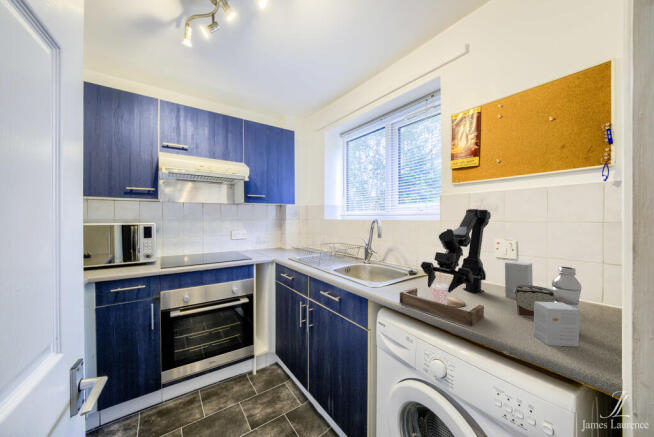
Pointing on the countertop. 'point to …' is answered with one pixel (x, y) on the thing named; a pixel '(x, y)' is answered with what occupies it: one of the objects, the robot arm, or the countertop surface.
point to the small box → (556, 323)
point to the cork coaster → (455, 302)
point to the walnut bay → (442, 308)
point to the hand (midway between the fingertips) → (438, 289)
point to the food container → (531, 298)
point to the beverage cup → (440, 292)
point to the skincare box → (517, 276)
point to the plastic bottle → (567, 288)
